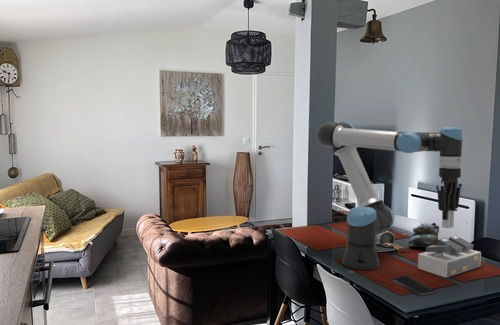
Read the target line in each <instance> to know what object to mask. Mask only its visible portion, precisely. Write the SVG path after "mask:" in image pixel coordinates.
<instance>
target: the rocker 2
mask: <svg viewBox="0 0 500 325" xmlns="http://www.w3.org/2000/svg"><path fill="white" fill-rule="evenodd" d="M437 244H438V245H452V250H451V251H450V252H452V253H454V254H457V253H461V252H462V251H463V247H461V246H459V245H458V244H456V243H454V242H452V241H450V240H449V238H446V237H443V238H440V239H438V243H437Z"/></svg>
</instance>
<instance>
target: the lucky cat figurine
mask: <svg viewBox="0 0 500 325" xmlns="http://www.w3.org/2000/svg"><path fill="white" fill-rule="evenodd" d="M439 232H440V226H439V225H437V223H436V222H432V223H427V222H426V223H420V225H418V226H416V227H413V228H412V233H411V238H410V239H409V240H408V247H409V248H426V247H429V246H434V245H438V244H437V243H438V240H439Z"/></svg>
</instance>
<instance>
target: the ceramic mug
mask: <svg viewBox="0 0 500 325" xmlns="http://www.w3.org/2000/svg"><path fill="white" fill-rule="evenodd" d="M395 237H396V236H395V235H394V233H393V232H390V231H389V230H387V231H386V232H383V233H380V234H378V235H376V238H375V241H376V242H375V244H378V245H380V244H381V243H392V244H393V245H394V244H395V242H396V238H395ZM381 245H382V244H381ZM381 245H380V246H381Z"/></svg>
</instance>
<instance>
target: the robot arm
mask: <svg viewBox="0 0 500 325" xmlns="http://www.w3.org/2000/svg"><path fill="white" fill-rule="evenodd" d="M316 140H317V142H318V143H319V144H320V145H321V146H322V147H324V148H331V150H332V153H333V155H335V156H337V157H338V158H339V161H340V163H341V165H342V167H343V169H344V172H345V174H346V177H347V179H348V181H349V184H350V186H351V189H352V191H353V193H354V195H355V198H356V200H357V203H358V206H355V207H352V208H350V209H349V210H348V211H347V216H346V246H345V249H344V252H343V254H342V260H341V261H342V262H341V264H342V265H344V266H345V267H348V268H350V269H354V270H362V271H363V270H364V271H366V270H367V271H368V270H369V271H370V270H375V269H377V268H379V266H380V258H379V256H378V251H377V249H376V245H375V238H376V235H378V234H380V233H383V232H386V231H389V230H390V229H391V228H392V226H393V225H394V221H395V215H394V212H393V211H392V209H391V208H390V207H388V206H387V205H385V203H384V200H383V199H382V198H380V197H378V196H377V193H376V192H375V189H374V187H373V185H372V182H371V180H370V178H369V175H368V173H367V171H366V169H365V166H364V164H363V162H362V158H361V157H360V154H359V152H358V151H357V148H366V149H374V150H382V151H383V150H384V151H386V150H387V151H396V152H402V153H406V154H413V153H418V152H439V160H438V161H439V163H438V165H439V169H438V176H439V177H440V178H441V180H440V184H439V185H436V186H435V188H436V191H437V202H438V203H437V205H438V210H439V211H441V212H442V213H441V214H442V215H441V218H442V220H441V228H444V229H448V230H449V229H450V228H451V229H453V228H454V220H455V212H457V211H458V208H459V204H460V196H461V189H462V187H463V185H462V184H463V183H459V180H458V179H460V178H461V176H462V169H461V166H462V152H463V151H462V150H463V140H464V139H463V129H462V128H461V127H453V126H451V127H450V126H449V127H443V126H442V127H441V128H440V130H439V131H438V132H425V131H424V132H421V131H420V132H419V131H415V132H409V131H394V130H381V129H380V130H377V129H366V128H365V129H363V128H355V127H354V126H353V125H352V124H350V123H348V122H345V121H344V122H342V121H341V122H334V121H333V122H332V121H329V122H328V121H327V122H325V123H322V124H321V125H320V126H319V127H318V128H317V130H316Z"/></svg>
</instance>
